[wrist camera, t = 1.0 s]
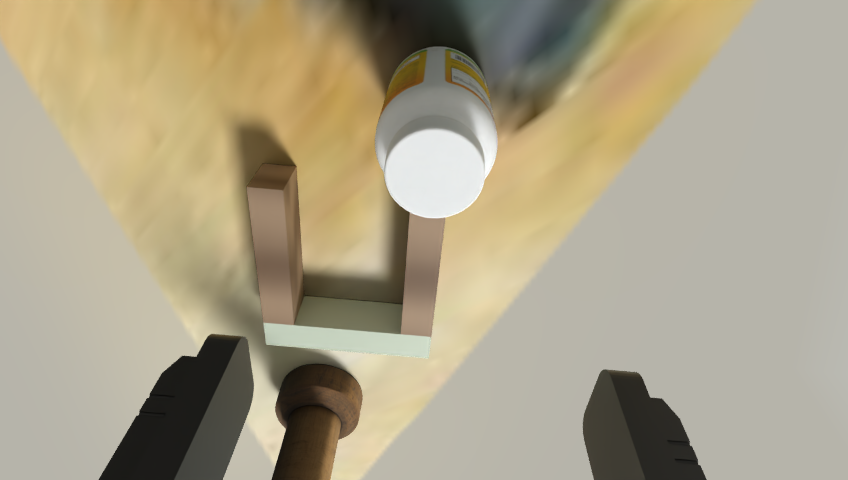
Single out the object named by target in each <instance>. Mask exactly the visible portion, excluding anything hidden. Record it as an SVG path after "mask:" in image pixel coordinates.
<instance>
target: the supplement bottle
mask: <svg viewBox="0 0 848 480" xmlns="http://www.w3.org/2000/svg"><path fill="white" fill-rule="evenodd" d="M375 150H376V155H377V159H378V162H379V164H380V167H381V168H382V170H383V172H384V178H385V183H386V186H387V189H388V191H389V193H390V195H391V196H392V197H393V199H394V200H395V201H396V202H397V203H398V204H399V205H400V206H401V207H402V208H404V209H405V210H407V211H408V212H410V213H412V214H415V215H418V216H421V217H425V218H444V217H449V216H452V215H455V214H457V213H460V212H461V211H463V210H465V209H466V208H467V207H469V206H470V205H471V204H472V203H473V202H474V201H475V200H476V198H477V197H478V195H479V194H480V192H481V190H482V187H483V184H484V180H485V178H486V177H487V175H488V174H489V172H490V170H491V168H492V166H493V164H494V161H495V158H496V154H497V131H496V126H495V121H494V116H493V112H492V107H491V102H490V97H489V92H488V87H487V83H486V81H485V78H484V76H483V74H482V72H481V70H480V69H479V67H478V66H477V64H476V63H475V62H474V61H473V60H472V59H471V58H470V57H468V56H467V55H465V54H464V53H462V52H460V51H458V50H455V49H452V48H449V47H429V48H425V49H422V50H419V51H417V52H415V53H413V54H411V55H410V56H409V57H407V58H406V59H405V60H404V61H403V62H402V63H401V64H400V65H399V66H398V68H397V69H396V71H395V72H394V74H393V76H392V79H391V81H390V84H389V87H388V91H387V94H386V98H385V101H384V104H383V108H382V111H381V114H380V117H379V121H378V124H377V129H376V135H375Z"/></svg>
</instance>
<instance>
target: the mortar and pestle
mask: <svg viewBox="0 0 848 480" xmlns="http://www.w3.org/2000/svg"><path fill="white" fill-rule="evenodd" d="M361 405H362V391H361V388H360V386H359V384H358V383H357V381H356V380H355V379H354V378H353V377H352V376H351V375H349V374H348V373H346V372H345V371H343V370H341V369H338V368H336V367H333V366H329V365H321V364H310V365H305V366H301V367H298V368H296V369H294V370H293V371H291V372H290V373H289V374H288V375H287V376H286V377H285V379H284V381H283V383H282V386H281V389H280V392H279V395H278V398H277V402H276V407H275V411H276V415H277V418H278V420H279V421H280V423H281V424H282V425H283V426H284V427H285V428H286V432H285V435H284V439H283V442H282V446H281V449H280V453H279V456H278V460H277V463H276V466H275V470H274V473H273V477H272V480H330V478H331V473H332V468H333V463H334V458H335V453H336V448H337V443H338V440H339V439H341V438H344V437H346V436H348V435H349V434H350V433H352V432H353V431H354V429H355V428H356V426H357V424H358V421H359V416H360V409H361Z"/></svg>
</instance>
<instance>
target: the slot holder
mask: <svg viewBox="0 0 848 480" xmlns="http://www.w3.org/2000/svg"><path fill="white" fill-rule="evenodd" d="M247 195H248V203H249V211H250V219H251V227H252V235H253V243H254V252H255V260H256V268H257V276H258V284H259V292H260V300H261V308H262V316H263V324H264V332H265V340H266V345H276V346H287V347H299V348H311V349H323V350H335V351H347V352H358V353H370V354H382V355H394V356H406V357H418V358H429V351H430V343H431V334H432V326H433V318H434V309H435V301H436V292H437V284H438V276H439V267H440V259H441V250H442V242H443V233H444V225H445V217H444V218H425V217H421V216H418V215H415V214H412V213H410V216H409V230H408V243H407V257H406V270H405V284H404V298H403V304H394V303H383V302H371V301H359V300H347V299H336V298H324V297H312V296H304V281H303V265H302V249H301V233H300V217H299V201H298V185H297V169H296V166H286V165H275V164H262V165H261V167H260V168H259V170H258V171H257V173H256V174H255V175H254V177H253V178H252V180H251V181H250V183H249V184H248V186H247Z"/></svg>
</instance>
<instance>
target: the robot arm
mask: <svg viewBox="0 0 848 480" xmlns="http://www.w3.org/2000/svg"><path fill="white" fill-rule="evenodd" d="M253 389H254V382H253V375H252V368H251V361H250V354H249V347H248V341H247V339H246V337H241V336H229V335H218V334H211V335H209V336H208V337H207V339H206V340H205V342H204V344H203V346H202V348H201V349H200V351H199V353H198V355H197V357H191V356H182V357H181V358H179V359H178V360H177V361H176V362H175V363H174V364H172V365H171V366H170V367H169V368H168V369H167V370H165V371H164V372H163V373H162V374H161V376H160V378H159V380H158V381H157V383H156V384H155V386H154V388H153V389H152V391H151V393H150V397H149V398H147V399H146V401H145V403H144V404H143V406H142V408H141V409H140V413H139V415H138V416H136V418H135V419H134V421H133V423H132V425H131V426H130V428H129V429H128V431H127V433H126V435H125V436H124V438H123V440H122V442H121V443H120V445H119V446H118V448H117V450H116V451H115V453H114V455H113V456H112V458H111V460H110V461H109V463H108V465H107V466H106V468H105V470H104V471H103V473H102V475H101V477H100V478H99V480H223V477H224V475H225V472H226V470H227V467H228V464H229V462H230V459H231V457H232V454H233V451H234V449H235V446H236V444H237V441H238V438H239V436H240V433H241V431H242V428H243V425H244V423H245V420H246V418H247V415H248V412H249V410H250V406H251V403H252V398H253ZM583 435H584V441H585V445H586V449H587V453H588V457H589V461H590V465H591V469H592V473H593V477H594V480H706V478H705V475H704V473H703V470H702V468H701V466H700V465H698V459H697V457H696V455H695V452H694V450H693V448H692V446H690V441H689V439H688V437H687V434H686V432H685V430H684V427H683V425H682V423H681V421H680V419H679V418H678V416H677V415H676V414H675V413H674V412H673V411H672V410H671V409H670V407H669V406H668V405H667V404H666V403H665V402H664V401H663V400H662V399H659V398H650V396H649V394H648V391H647V389H646V386H645V384H644V381H643V379H642V377H641V376H640V374H639V373H637V372H627V371H615V370H602V371H601V373H600V374H599V377H598V380H597V382H596V385H595V387H594V390H593V392H592V395H591V398H590V400H589V403H588V405H587V408H586V410H585V413H584V419H583Z"/></svg>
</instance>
